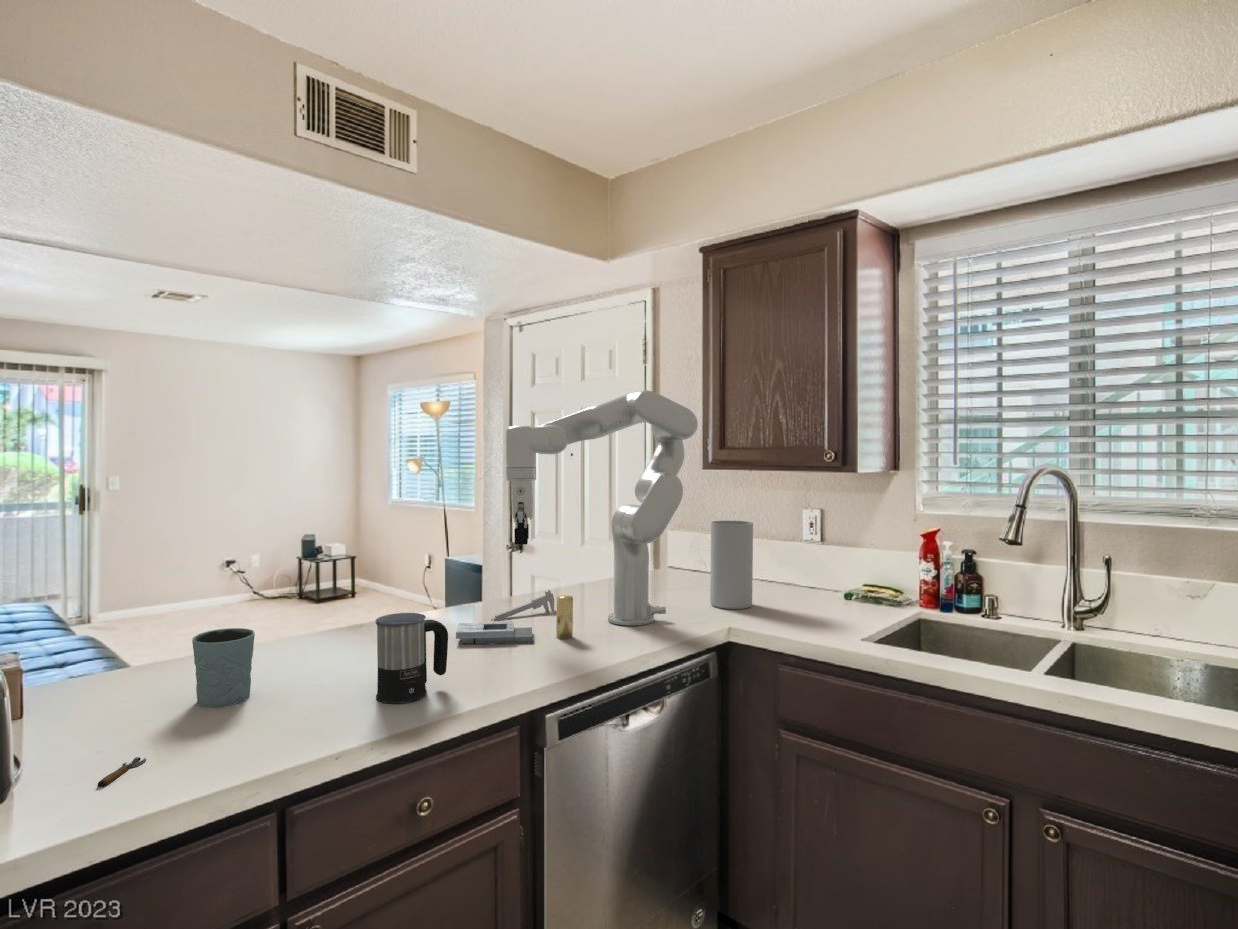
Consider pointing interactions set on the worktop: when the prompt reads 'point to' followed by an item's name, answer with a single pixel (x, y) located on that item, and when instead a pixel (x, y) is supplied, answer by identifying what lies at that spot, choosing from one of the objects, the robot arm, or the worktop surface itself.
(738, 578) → the cylinder vase
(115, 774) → the can opener
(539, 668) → the worktop surface
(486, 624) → the grey socket block
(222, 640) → the embossed planter pot
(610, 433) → the robot arm
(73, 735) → the worktop surface
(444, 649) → the milk frother
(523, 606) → the caliper
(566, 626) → the pin
